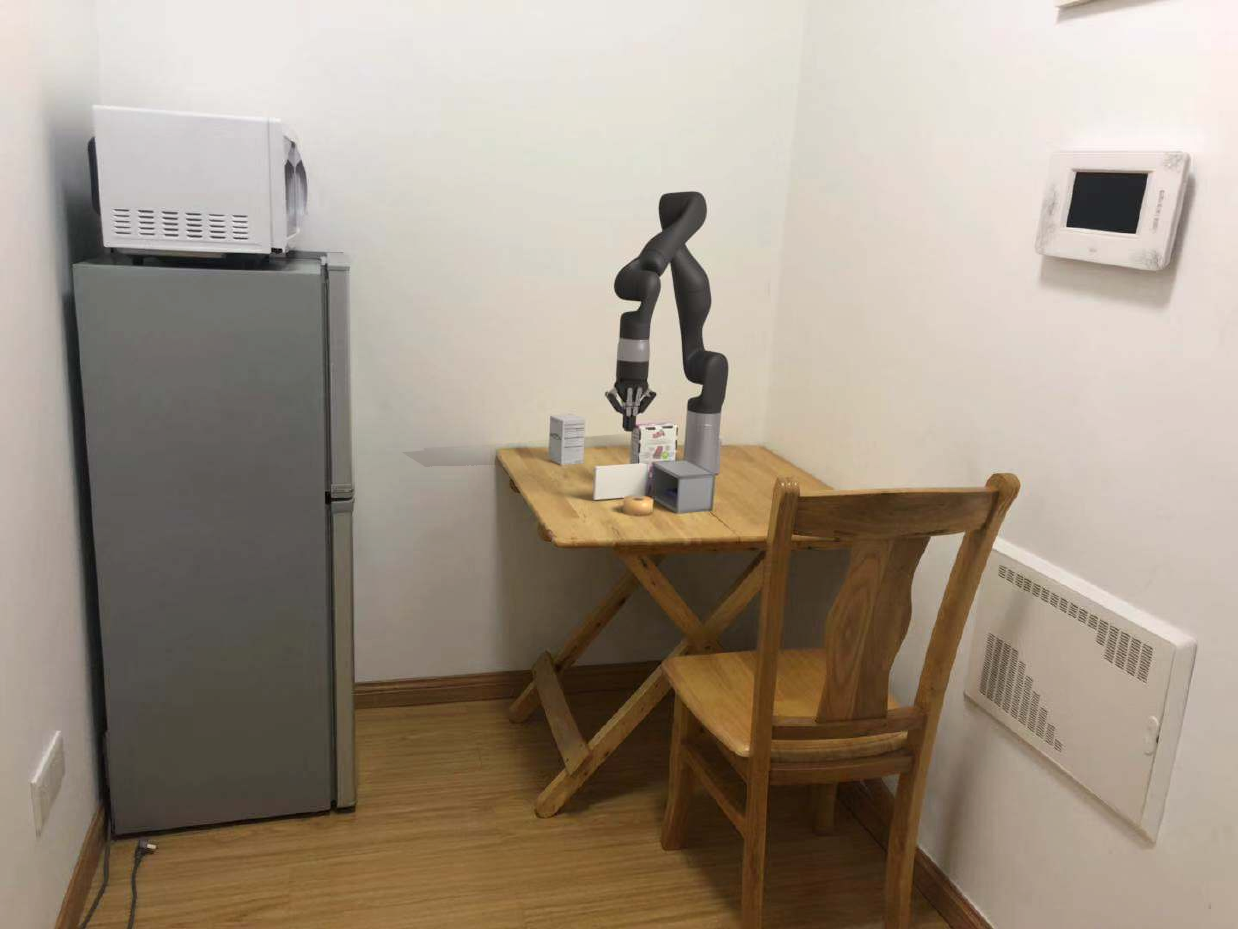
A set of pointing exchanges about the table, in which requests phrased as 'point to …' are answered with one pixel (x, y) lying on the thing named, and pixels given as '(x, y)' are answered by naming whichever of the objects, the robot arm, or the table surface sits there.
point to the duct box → (682, 486)
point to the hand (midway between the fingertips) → (628, 430)
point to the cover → (621, 480)
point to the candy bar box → (653, 443)
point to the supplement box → (566, 439)
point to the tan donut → (637, 505)
